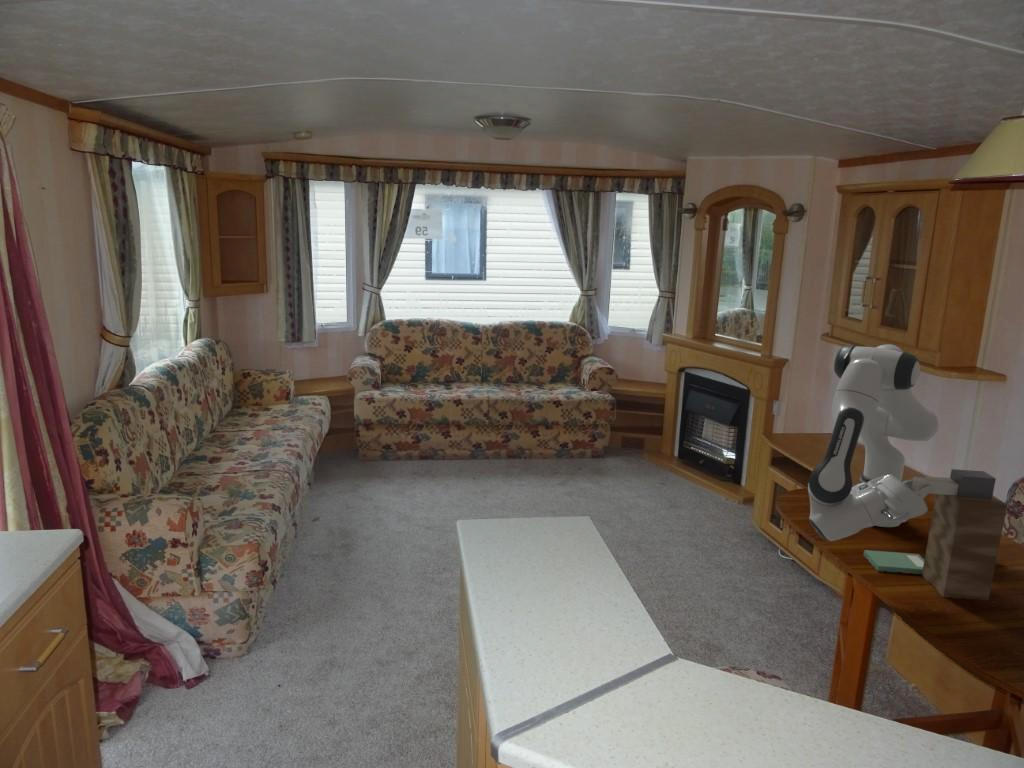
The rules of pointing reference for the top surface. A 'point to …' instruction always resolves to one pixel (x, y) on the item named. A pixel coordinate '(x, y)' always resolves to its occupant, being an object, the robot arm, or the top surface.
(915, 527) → the top surface
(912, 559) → the board
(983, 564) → the block
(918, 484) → the plug
